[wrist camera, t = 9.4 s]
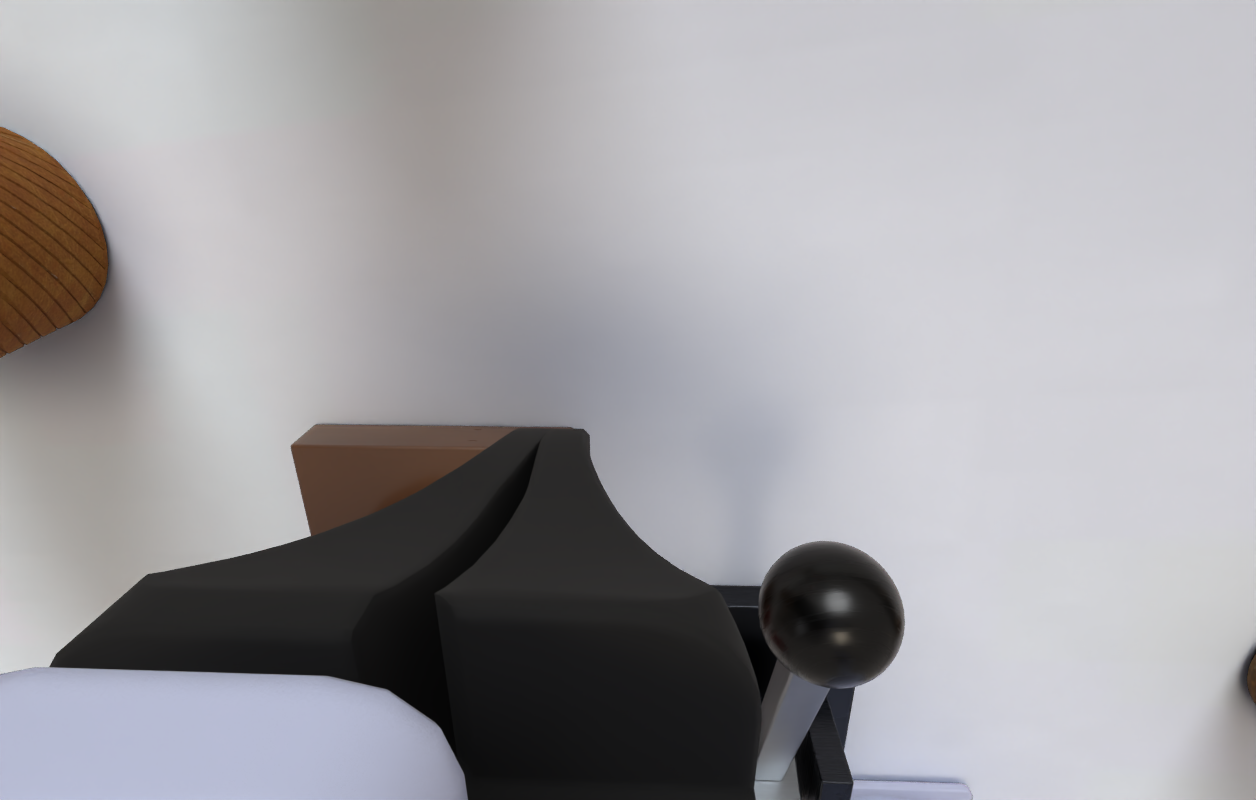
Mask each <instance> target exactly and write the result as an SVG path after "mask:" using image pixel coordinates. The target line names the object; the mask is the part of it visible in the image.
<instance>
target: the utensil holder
mask: <svg viewBox="0 0 1256 800" xmlns="http://www.w3.org/2000/svg"><path fill="white" fill-rule="evenodd" d="M1247 685H1248V690H1249V693H1250V695H1251V697H1252V699H1253V701H1254V702H1255V704H1256V654H1255V655H1254V657H1253V659H1252V661H1251V663H1250V666H1249V669H1248V674H1247Z"/></svg>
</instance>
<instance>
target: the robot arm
mask: <svg viewBox="0 0 1256 800" xmlns="http://www.w3.org/2000/svg"><path fill="white" fill-rule="evenodd" d="M761 723H762V711H761V698H760V692H759V687H758V683H757V679H756V676H755V673H754V670H753V667H752V664H751V661H750V658H749V655H748V652H747V649H746V647H745V644H744V642H743V639H742V637H741V635H740V632H739V630H738V628H737V625H736V623H735V621H734V619H733V617H732V615H731V613H730V611H729V609H728V606H727V604H726V602H725V601H724V599H723V597H722V595H721V593H720V592H719V591H718V590H717V589H716V588H714V587H712V586H710V585H708V584H706V583H705V582H703V581H701V580H699V579H697V578H695V577H693V576H691V575H690V574H688V573H686V572H684V571H682V570H680V569H679V568H677V567H675V566H674V565H673V564H671V563H670V562H668V561H667V560H666V559H664V558H663V557H661V556H660V555H658V554H657V553H656V552H655V551H653V550H652V549H651V548H650V547H649V546H648V545H647V544H646V543H645V542H644V541H642V540H641V539H640V538H639V537H638V536H637V534H636V533H635V532H634V531H633V530H632V529H631V528H630V527H629V525H628V524H627V523H626V522H625V520H624V519H623V518H622V516H621V515H620V514H619V513H618V511H617V510H616V508H615V507H614V505H613V504H612V502H611V500H610V499H609V497H608V495H607V493H606V492H605V490H604V488H603V486H602V484H601V482H600V480H599V478H598V476H597V473H596V471H595V468H594V466H593V463H592V460H591V457H590V435H589V434H588V433H587V432H586V431H585V430H584V429H549V428H517V429H515V430H513V431H512V432H510V433H508V434H507V435H505V436H504V437H502V438H501V439H500V440H498V441H497V442H495V443H494V444H492V445H491V446H489V447H488V448H487V449H485V450H484V451H482V452H481V453H479V454H478V455H476V456H475V457H473V458H472V459H470V460H469V461H467V462H466V463H465V464H463V465H462V466H460V467H458V468H457V469H455V470H453V471H452V472H450V473H448V474H447V475H445V476H443V477H442V478H440V479H438V480H437V481H435V482H433V483H432V484H430V485H428V486H427V487H425V488H423V489H422V490H420V491H418V492H416V493H414V494H412V495H410V496H408V497H406V498H404V499H402V500H401V501H398V502H396V503H394V504H392V505H390V506H388V507H385V508H383V509H381V510H379V511H377V512H374V513H372V514H370V515H367V516H365V517H362V518H360V519H357V520H354V521H352V522H349V523H346V524H343V525H341V526H338V527H335V528H333V529H330V530H327V531H325V532H322V533H319V534H316V535H313V536H310V537H307V538H304V539H301V540H297V541H294V542H291V543H287V544H284V545H281V546H277V547H273V548H269V549H266V550H262V551H258V552H254V553H251V554H246V555H242V556H238V557H234V558H230V559H225V560H220V561H215V562H210V563H205V564H200V565H195V566H190V567H185V568H180V569H175V570H170V571H165V572H159V573H153V574H148V575H146V576H145V577H144V578H143V579H141V580H140V581H139V582H138V583H137V584H136V585H135V586H133V587H132V588H131V589H130V590H129V591H128V592H127V593H125V594H124V595H123V596H122V597H121V598H120V599H119V600H117V601H116V602H115V603H114V604H113V605H112V606H111V607H109V608H108V609H107V610H106V611H105V612H104V613H103V614H101V615H100V616H99V617H98V618H97V619H96V620H95V621H93V622H92V623H91V624H90V625H89V626H88V627H87V628H85V629H84V630H83V631H82V632H81V633H80V634H79V635H77V636H76V637H75V638H74V639H73V640H72V641H71V642H69V643H68V644H67V645H66V646H65V647H64V648H63V649H61V650H60V651H59V652H58V653H57V654H56V656H55V657H54V659H53V661H52V663H51V665H50V667H34V668H29V669H24V670H19V671H14V672H9V673H4V674H0V800H756V797H755V791H754V785H755V776H756V767H757V758H758V749H759V741H760V732H761ZM853 782H854V784H853V789H852V795H851V800H973V795H972V793H971V791H970V789H969V787H968V786H967V785H965V784H961V783H938V782H905V781H873V780H853Z"/></svg>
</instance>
